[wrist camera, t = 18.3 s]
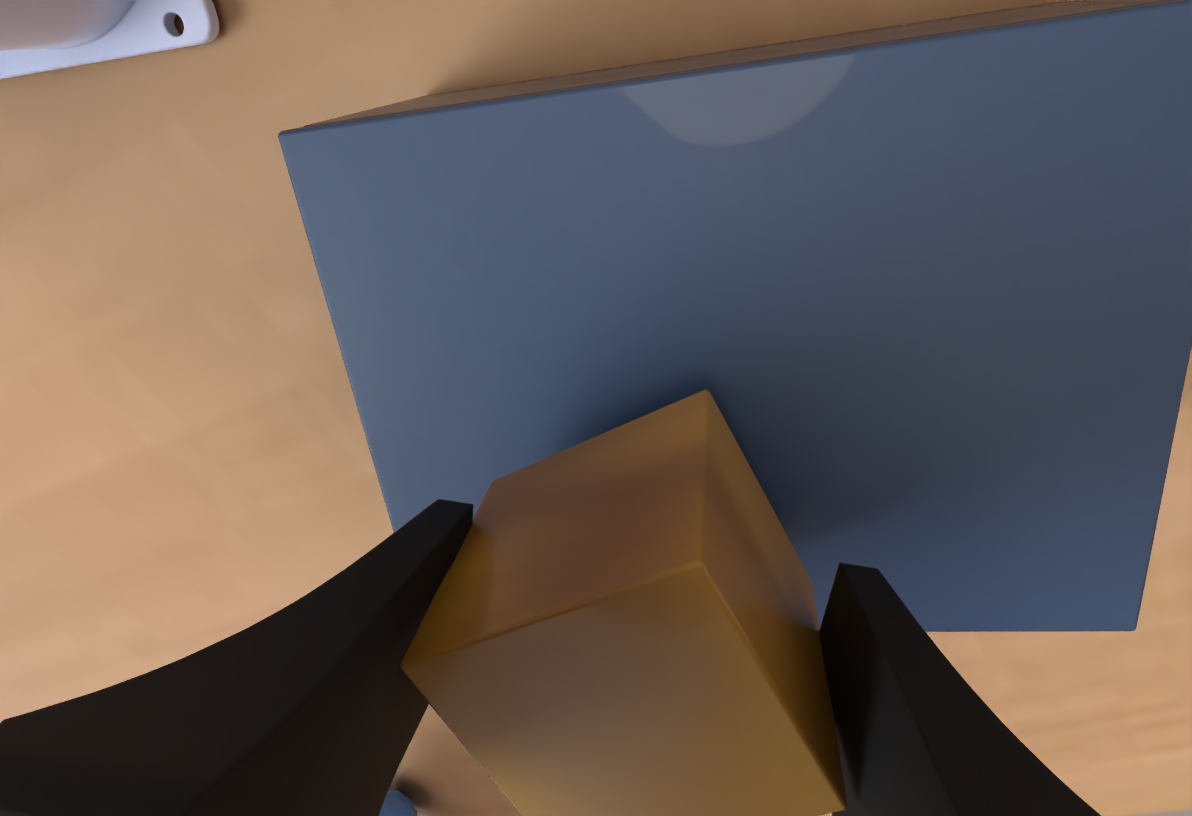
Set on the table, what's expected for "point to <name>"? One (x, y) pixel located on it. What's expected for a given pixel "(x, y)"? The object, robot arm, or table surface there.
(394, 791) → the grapes
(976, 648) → the table surface
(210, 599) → the table surface
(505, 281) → the lid
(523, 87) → the toy box
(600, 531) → the block
